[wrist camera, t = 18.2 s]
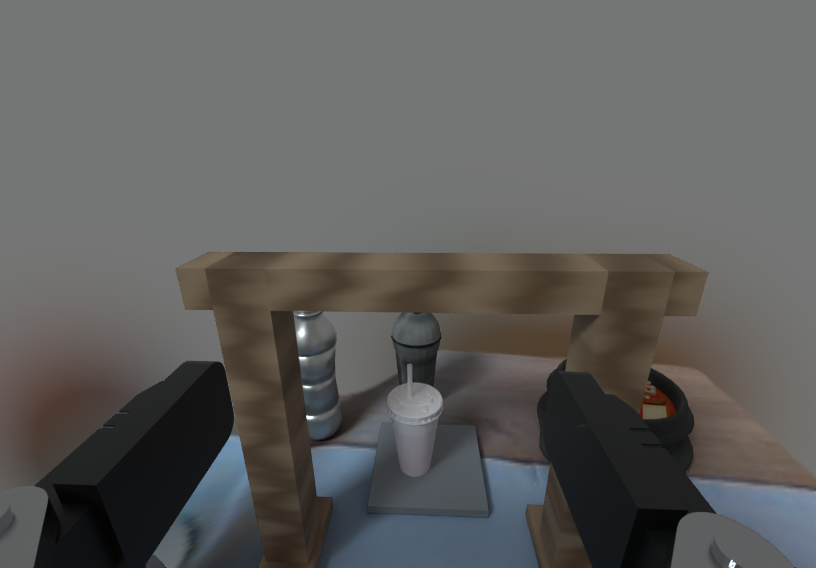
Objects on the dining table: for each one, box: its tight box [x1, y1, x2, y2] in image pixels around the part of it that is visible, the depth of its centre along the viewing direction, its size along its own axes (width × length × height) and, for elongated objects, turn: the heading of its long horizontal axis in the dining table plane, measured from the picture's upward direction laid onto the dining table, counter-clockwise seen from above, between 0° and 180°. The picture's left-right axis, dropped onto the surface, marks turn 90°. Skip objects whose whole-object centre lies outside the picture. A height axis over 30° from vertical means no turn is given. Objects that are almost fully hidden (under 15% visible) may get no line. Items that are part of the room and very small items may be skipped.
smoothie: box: [387, 364, 443, 477], centre depth 43 cm, size 6×6×14 cm
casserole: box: [537, 359, 694, 471], centre depth 50 cm, size 25×19×8 cm
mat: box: [367, 423, 489, 518], centre depth 47 cm, size 13×13×1 cm
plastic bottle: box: [293, 311, 343, 441], centre depth 49 cm, size 6×7×20 cm
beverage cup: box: [391, 312, 441, 387], centre depth 55 cm, size 7×7×20 cm
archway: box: [175, 252, 708, 568], centre depth 31 cm, size 34×10×30 cm, turn 87°
